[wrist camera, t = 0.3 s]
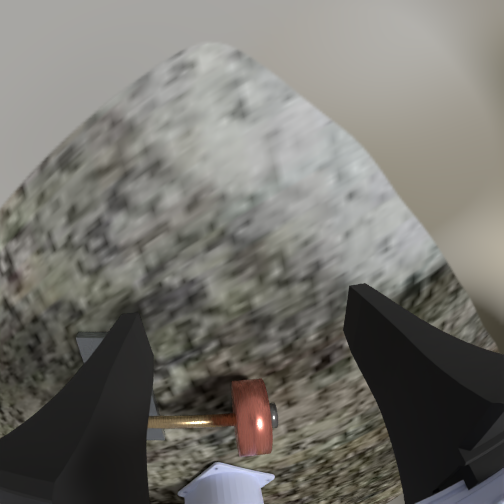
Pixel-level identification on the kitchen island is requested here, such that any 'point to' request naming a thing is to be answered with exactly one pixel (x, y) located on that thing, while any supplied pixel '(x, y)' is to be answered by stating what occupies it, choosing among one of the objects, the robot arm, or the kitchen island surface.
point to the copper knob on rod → (236, 418)
